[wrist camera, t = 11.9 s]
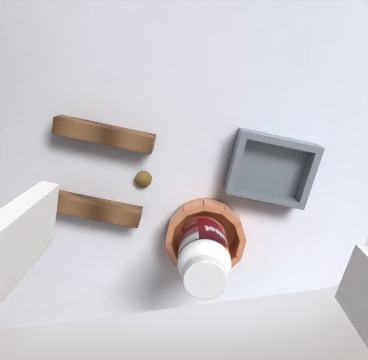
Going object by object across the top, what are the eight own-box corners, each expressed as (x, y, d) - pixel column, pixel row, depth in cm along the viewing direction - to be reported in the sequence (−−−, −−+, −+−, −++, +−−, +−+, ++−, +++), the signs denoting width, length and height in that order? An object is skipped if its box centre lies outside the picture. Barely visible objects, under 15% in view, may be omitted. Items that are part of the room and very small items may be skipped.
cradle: (52, 202, 45) (44, 209, 43) (61, 114, 42) (53, 117, 39) (143, 221, 46) (141, 228, 43) (159, 135, 42) (157, 138, 40)
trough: (223, 187, 44) (225, 193, 42) (239, 127, 42) (242, 130, 39) (297, 202, 44) (303, 209, 42) (316, 144, 42) (324, 148, 40)
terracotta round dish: (161, 258, 47) (159, 268, 45) (175, 191, 44) (174, 198, 42) (231, 272, 48) (234, 283, 45) (250, 206, 45) (254, 214, 42)
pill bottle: (234, 237, 46) (247, 285, 35) (199, 263, 47) (201, 316, 36) (206, 204, 44) (210, 244, 34) (170, 231, 45) (163, 277, 35)
